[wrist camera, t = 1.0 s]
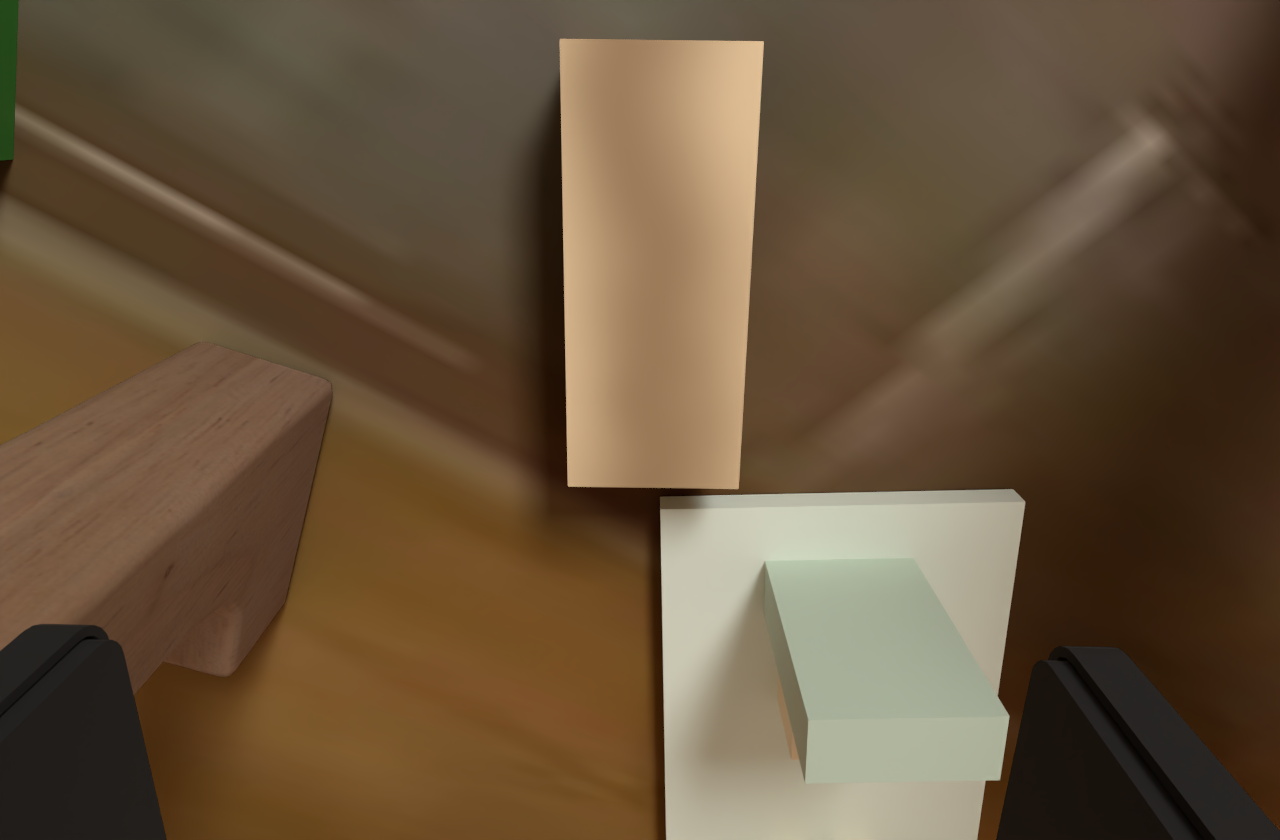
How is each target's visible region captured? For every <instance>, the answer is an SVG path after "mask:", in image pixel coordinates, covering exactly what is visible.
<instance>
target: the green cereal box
mask: <svg viewBox="0 0 1280 840" xmlns="http://www.w3.org/2000/svg"><path fill="white" fill-rule="evenodd" d="M18 1H19V0H0V160H13V155H14V124H15V93H16V62H17V32H18Z"/></svg>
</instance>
